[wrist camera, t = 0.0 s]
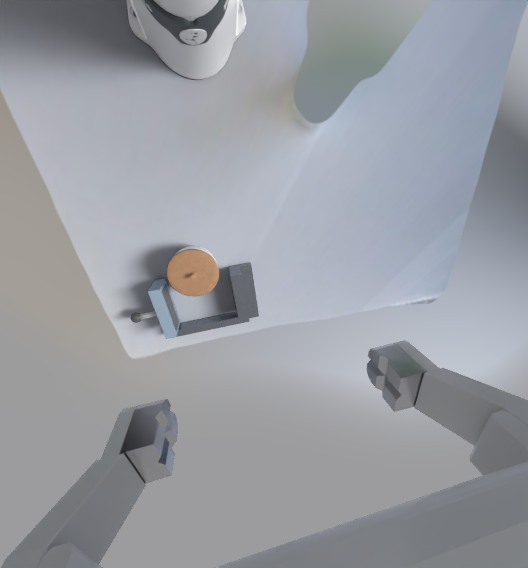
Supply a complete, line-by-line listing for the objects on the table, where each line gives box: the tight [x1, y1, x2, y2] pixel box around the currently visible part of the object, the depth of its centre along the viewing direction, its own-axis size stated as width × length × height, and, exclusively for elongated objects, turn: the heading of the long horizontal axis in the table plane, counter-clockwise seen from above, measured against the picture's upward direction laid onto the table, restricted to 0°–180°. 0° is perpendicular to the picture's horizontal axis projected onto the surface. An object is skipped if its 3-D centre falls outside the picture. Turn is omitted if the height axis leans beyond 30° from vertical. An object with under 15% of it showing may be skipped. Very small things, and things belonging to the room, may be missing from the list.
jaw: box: [131, 278, 180, 339], centre depth 54 cm, size 13×10×6 cm
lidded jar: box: [167, 246, 219, 296], centre depth 51 cm, size 11×11×9 cm
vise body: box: [172, 263, 259, 338], centre depth 57 cm, size 16×24×6 cm, turn 97°
